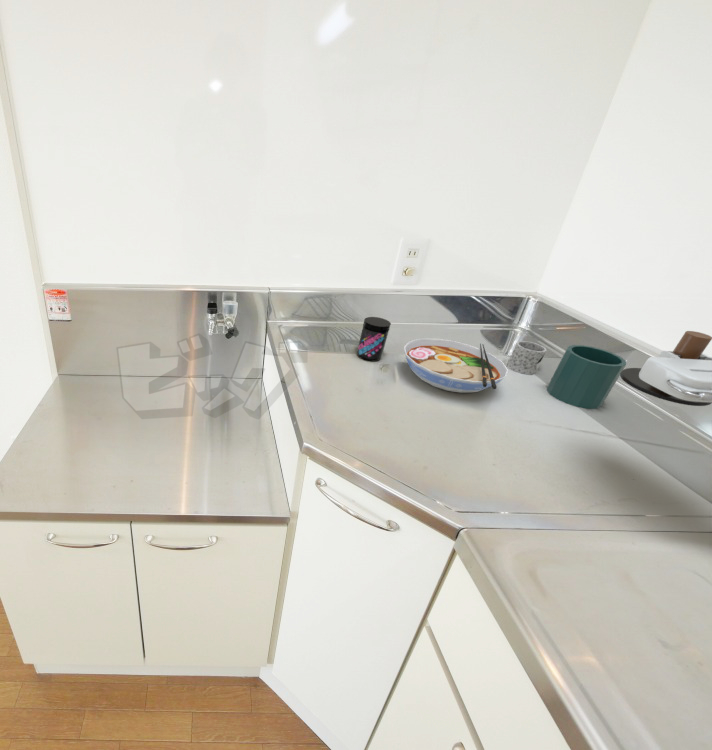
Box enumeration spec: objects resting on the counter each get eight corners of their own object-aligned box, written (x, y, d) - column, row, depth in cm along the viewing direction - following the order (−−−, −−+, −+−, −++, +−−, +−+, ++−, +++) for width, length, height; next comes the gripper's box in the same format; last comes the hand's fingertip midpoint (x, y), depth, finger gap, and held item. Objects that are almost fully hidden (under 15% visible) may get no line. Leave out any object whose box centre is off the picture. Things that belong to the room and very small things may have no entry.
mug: (539, 376, 111) (550, 353, 108) (511, 371, 113) (520, 349, 109) (527, 359, 119) (537, 338, 116) (501, 355, 121) (510, 334, 118)
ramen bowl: (401, 353, 120) (409, 327, 115) (493, 374, 111) (505, 346, 107) (389, 394, 100) (398, 363, 96) (500, 423, 91) (515, 391, 87)
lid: (681, 380, 74) (718, 326, 69) (728, 415, 65) (775, 356, 60) (605, 369, 77) (635, 316, 72) (640, 401, 67) (677, 343, 62)
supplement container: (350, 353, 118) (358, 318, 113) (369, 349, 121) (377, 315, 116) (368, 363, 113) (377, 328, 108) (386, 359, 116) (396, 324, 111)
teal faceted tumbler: (585, 394, 104) (611, 349, 97) (606, 418, 95) (636, 369, 89) (537, 387, 106) (560, 342, 100) (553, 408, 97) (579, 361, 91)
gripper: (677, 416, 59) (603, 368, 71) (831, 426, 58) (729, 376, 70) (706, 377, 55) (622, 334, 67) (868, 387, 55) (755, 342, 67)
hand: (678, 355), depth 69 cm, fingers closed on lid, 3 cm apart
